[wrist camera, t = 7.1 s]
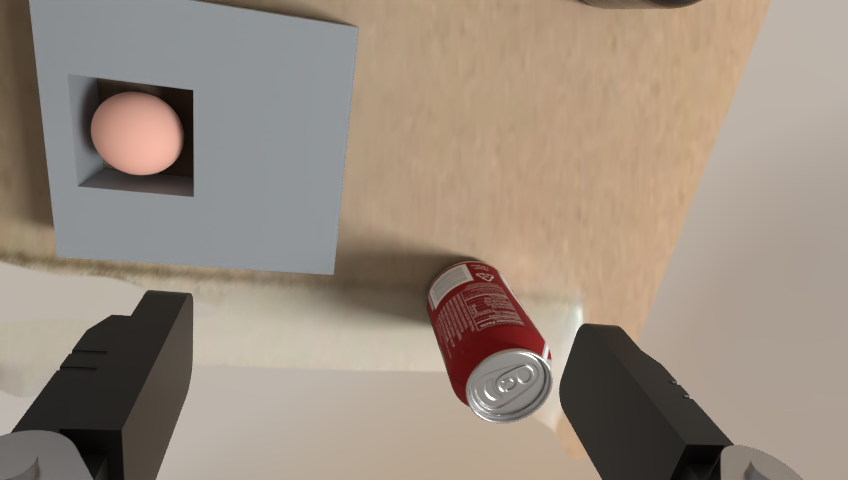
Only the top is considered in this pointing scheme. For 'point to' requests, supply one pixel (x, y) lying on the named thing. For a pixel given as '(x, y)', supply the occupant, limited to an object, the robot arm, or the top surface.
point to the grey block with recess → (200, 132)
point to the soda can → (488, 343)
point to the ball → (137, 133)
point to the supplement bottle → (640, 4)
